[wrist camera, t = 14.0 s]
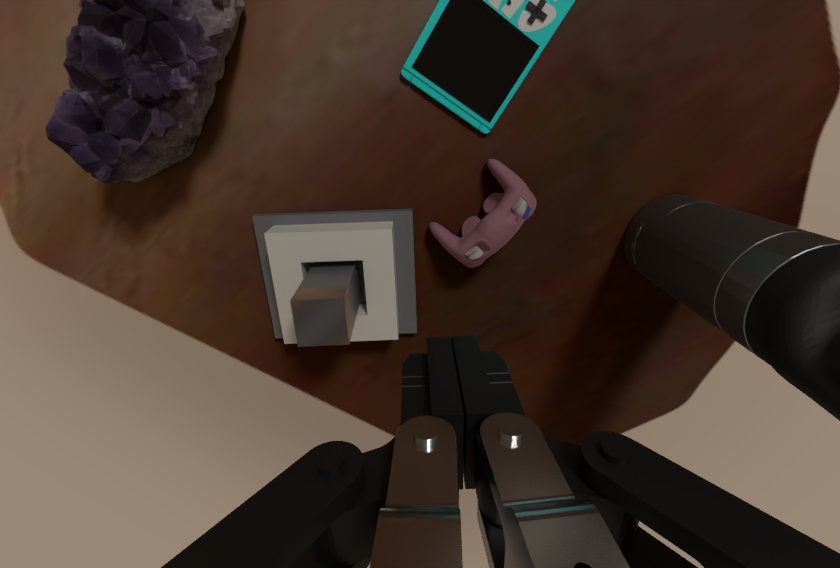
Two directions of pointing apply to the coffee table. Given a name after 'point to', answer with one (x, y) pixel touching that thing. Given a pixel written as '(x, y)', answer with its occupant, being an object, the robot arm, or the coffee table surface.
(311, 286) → the plug
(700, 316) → the robot arm
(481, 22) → the handheld game console
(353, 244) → the socket
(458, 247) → the video game controller
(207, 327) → the coffee table surface
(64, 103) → the geode
